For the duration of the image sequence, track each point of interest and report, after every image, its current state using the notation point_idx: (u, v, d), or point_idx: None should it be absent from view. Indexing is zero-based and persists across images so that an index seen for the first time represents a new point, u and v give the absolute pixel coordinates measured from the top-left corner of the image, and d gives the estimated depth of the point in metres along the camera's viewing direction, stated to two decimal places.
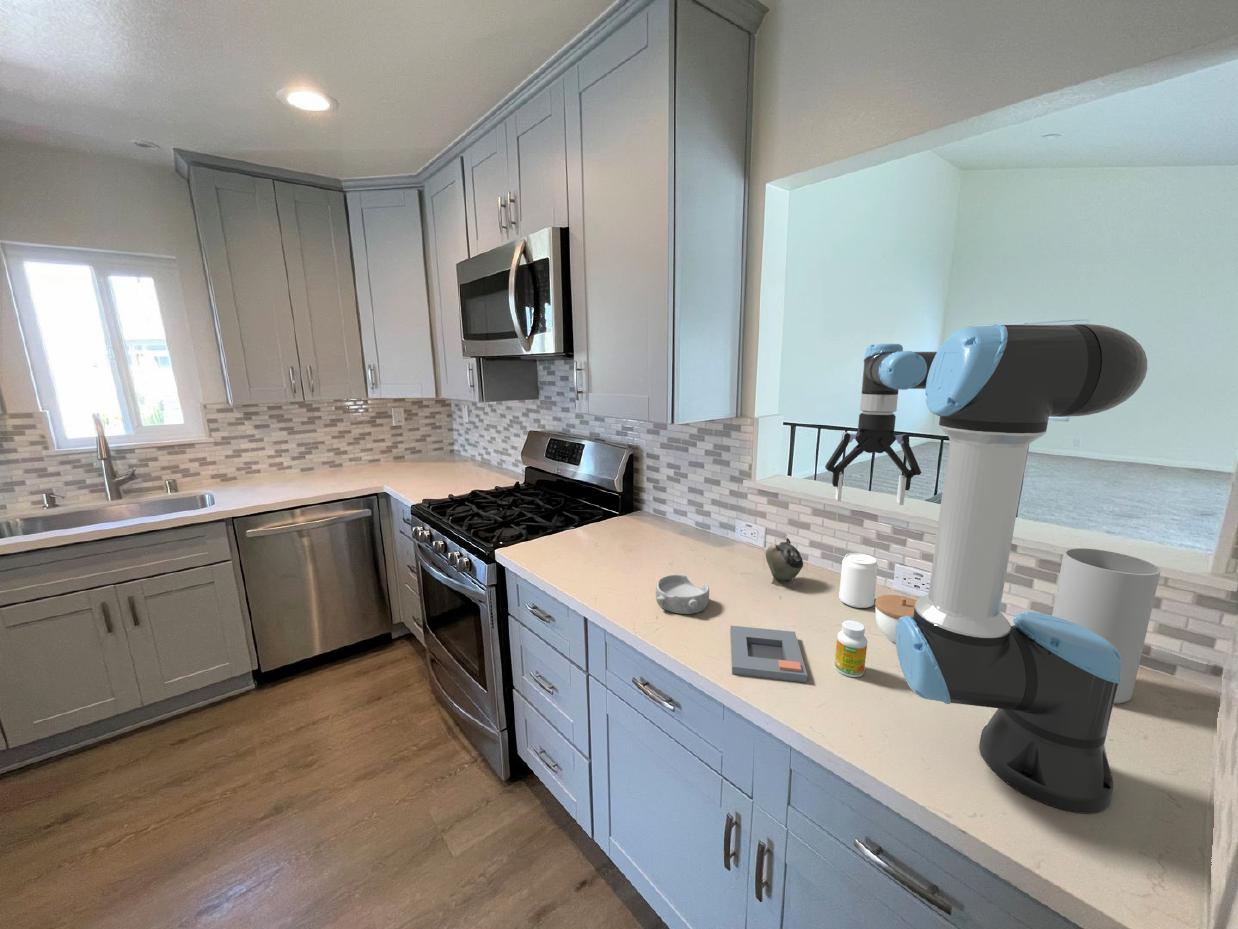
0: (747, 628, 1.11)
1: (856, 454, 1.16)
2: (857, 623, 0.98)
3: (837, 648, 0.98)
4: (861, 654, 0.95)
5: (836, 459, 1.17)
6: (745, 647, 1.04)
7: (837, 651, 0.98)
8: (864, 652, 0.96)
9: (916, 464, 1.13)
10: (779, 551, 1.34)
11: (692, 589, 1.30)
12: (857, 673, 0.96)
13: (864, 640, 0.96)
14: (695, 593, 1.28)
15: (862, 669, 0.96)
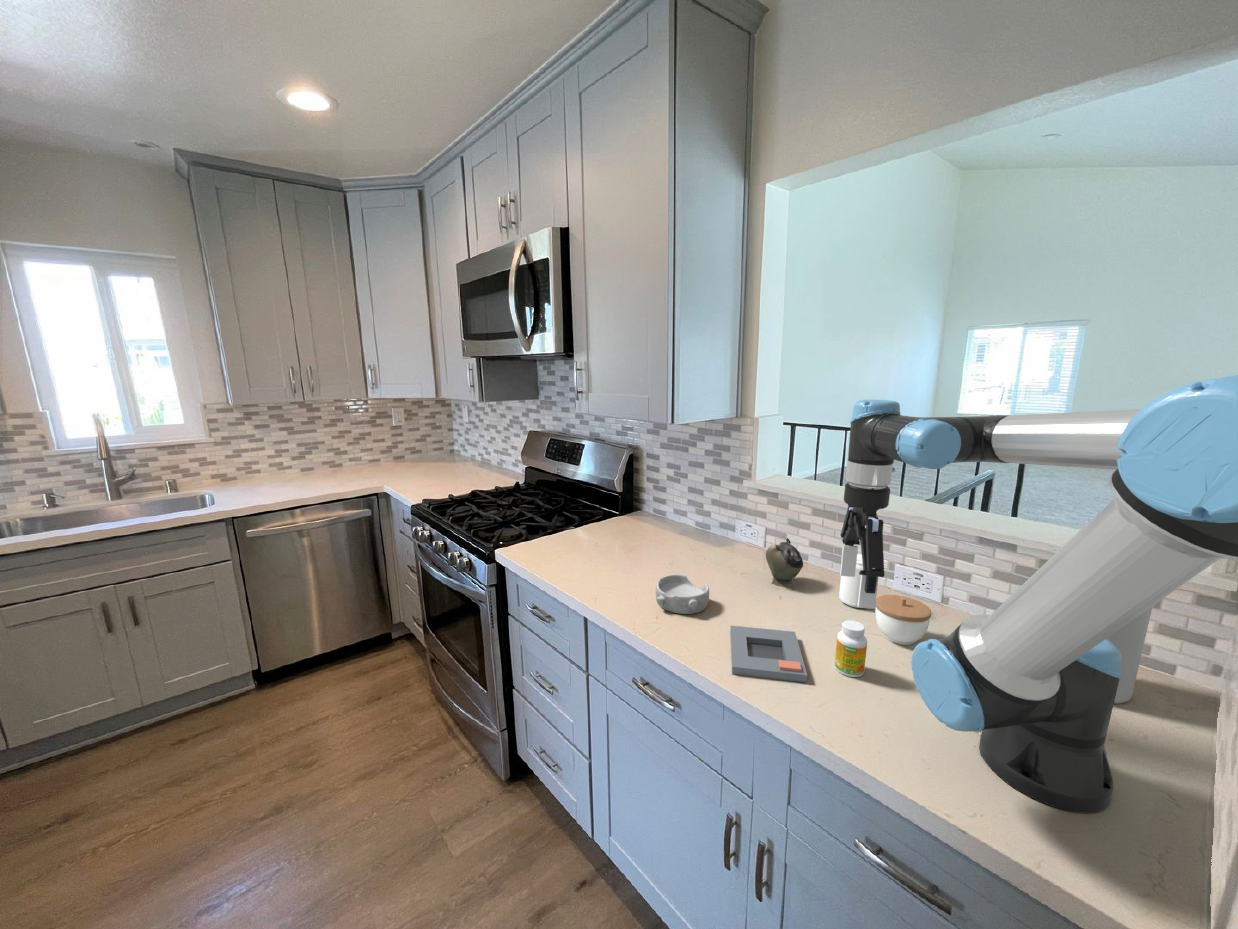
0: (747, 628, 1.11)
1: (850, 527, 0.97)
2: (857, 623, 0.98)
3: (837, 648, 0.98)
4: (861, 654, 0.95)
5: (844, 526, 1.02)
6: (745, 647, 1.04)
7: (837, 651, 0.98)
8: (864, 652, 0.96)
9: (868, 561, 0.85)
10: (779, 551, 1.34)
11: (692, 589, 1.30)
12: (857, 673, 0.96)
13: (864, 640, 0.96)
14: (695, 593, 1.28)
15: (862, 669, 0.96)
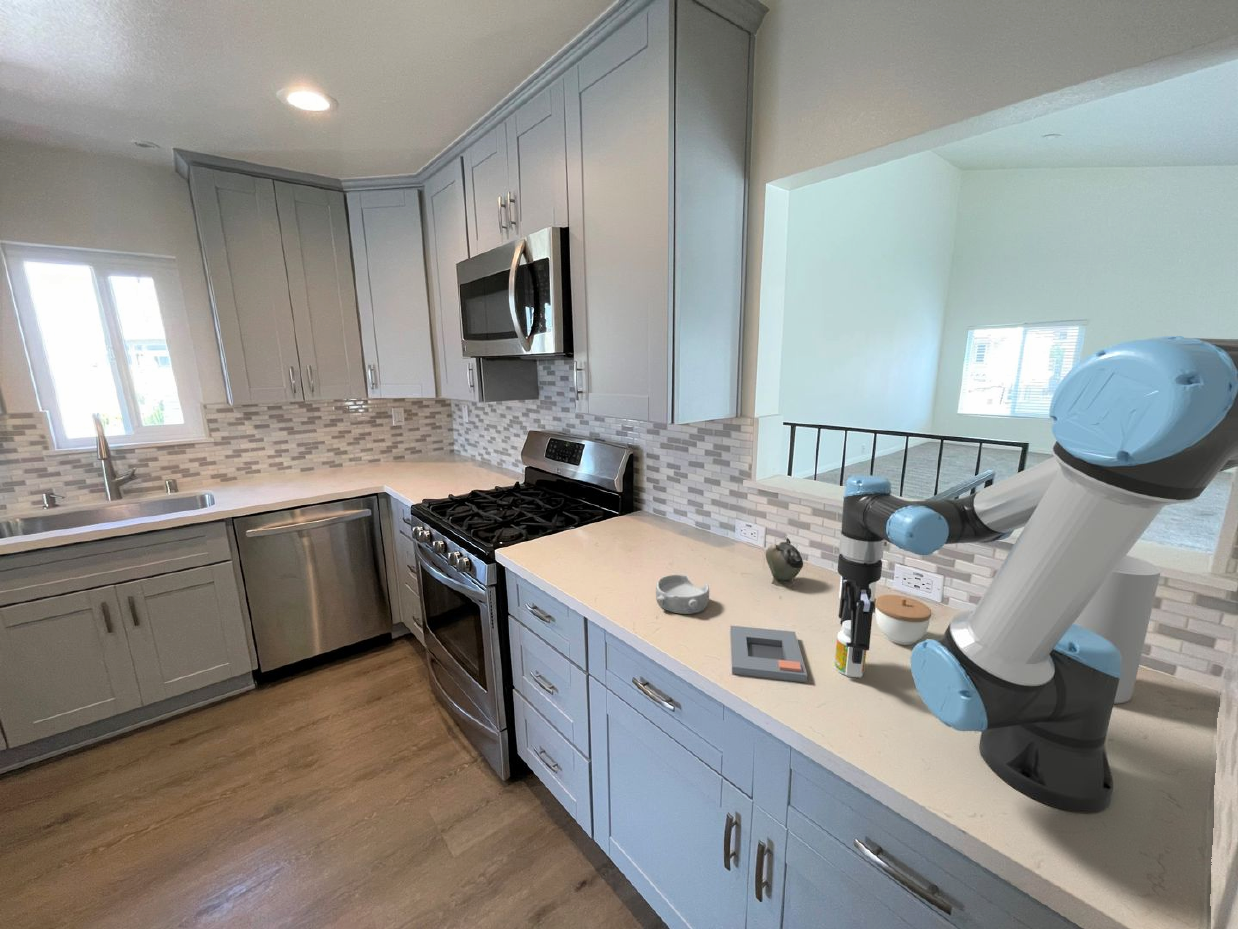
0: (747, 628, 1.11)
1: (845, 601, 0.99)
2: None
3: (837, 648, 0.98)
4: None
5: (840, 604, 1.02)
6: (745, 647, 1.04)
7: (837, 651, 0.98)
8: (864, 652, 0.96)
9: (855, 637, 0.91)
10: (779, 551, 1.34)
11: (692, 589, 1.30)
12: None
13: None
14: (695, 593, 1.28)
15: (862, 669, 0.96)
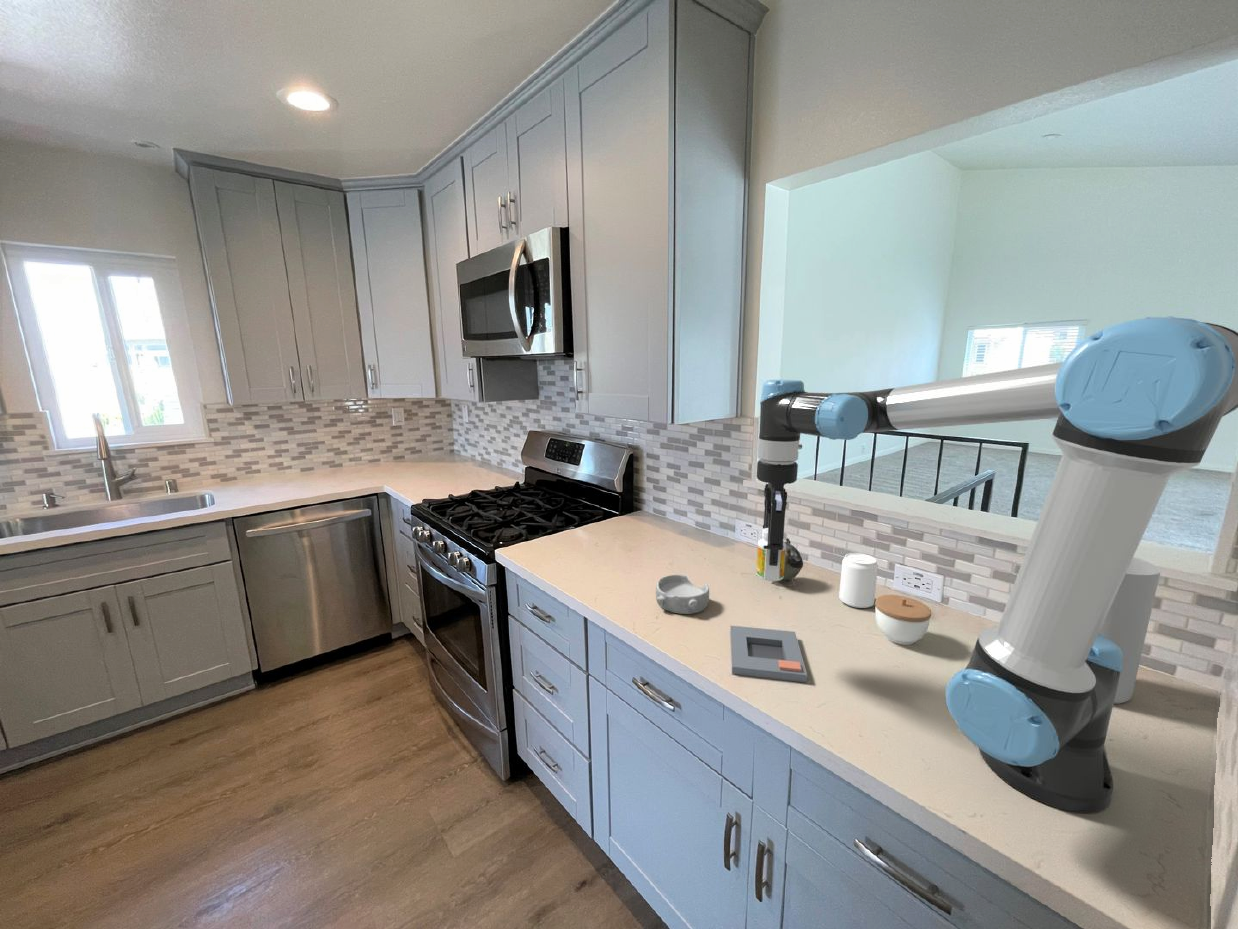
0: (747, 628, 1.11)
1: None
2: None
3: (757, 554, 1.00)
4: None
5: (764, 515, 1.04)
6: (745, 647, 1.04)
7: (757, 557, 1.00)
8: (782, 556, 0.97)
9: (769, 536, 0.93)
10: None
11: (692, 589, 1.30)
12: None
13: None
14: (695, 593, 1.28)
15: (781, 573, 0.98)
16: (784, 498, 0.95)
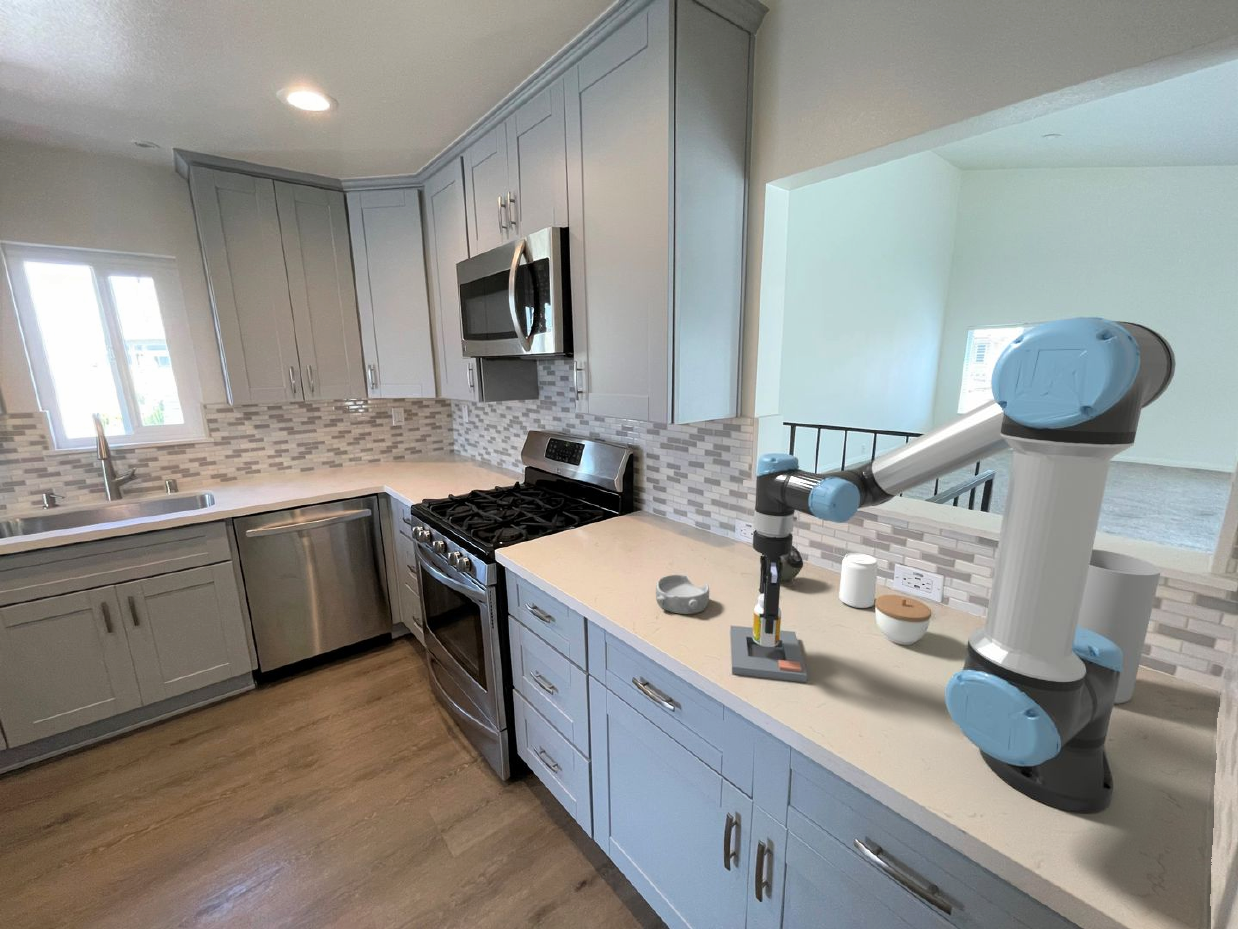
0: (747, 628, 1.11)
1: None
2: None
3: (754, 620, 1.02)
4: None
5: (760, 579, 1.06)
6: (745, 647, 1.04)
7: (753, 622, 1.02)
8: (777, 623, 1.00)
9: (765, 607, 0.95)
10: None
11: (692, 589, 1.30)
12: None
13: None
14: (695, 593, 1.28)
15: (776, 639, 1.01)
16: (779, 568, 0.97)
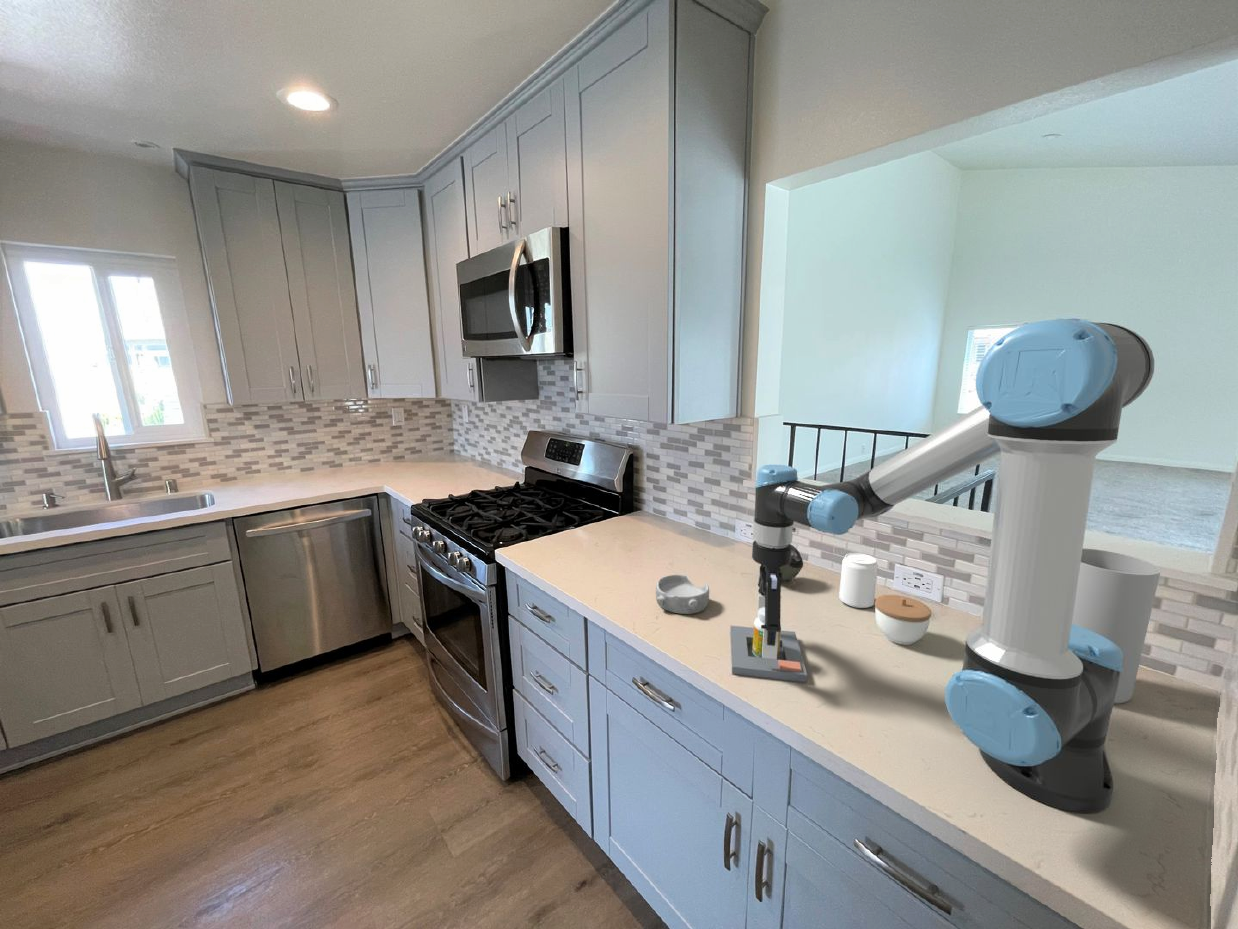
0: (747, 628, 1.11)
1: None
2: None
3: (753, 633, 1.03)
4: None
5: (759, 577, 1.09)
6: (745, 647, 1.04)
7: (753, 636, 1.03)
8: None
9: (766, 616, 0.93)
10: None
11: (692, 589, 1.30)
12: None
13: None
14: (695, 593, 1.28)
15: None
16: (779, 578, 0.98)
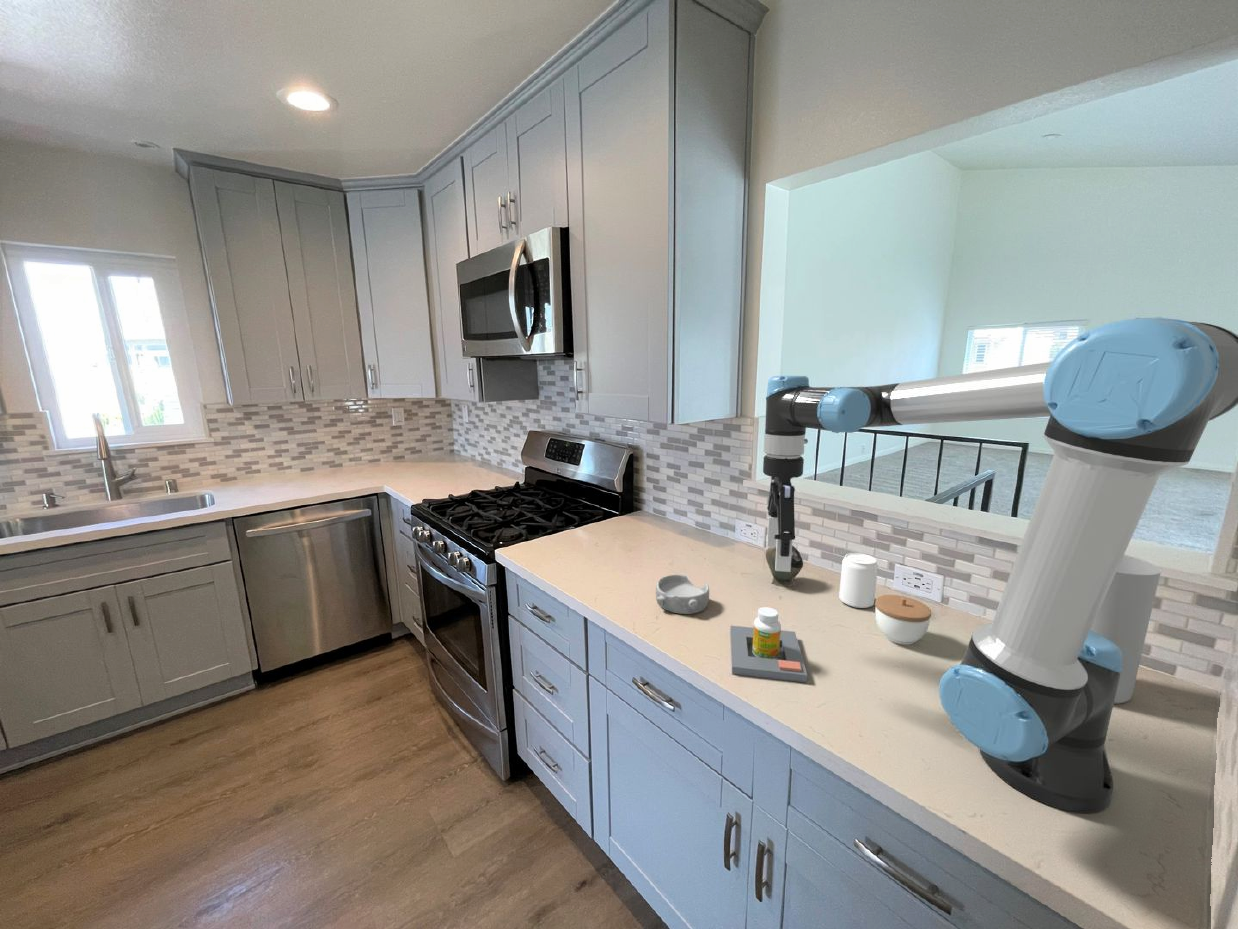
0: (747, 628, 1.11)
1: (772, 498, 1.03)
2: (772, 609, 1.02)
3: (753, 633, 1.03)
4: (774, 638, 1.00)
5: (769, 499, 1.07)
6: (745, 647, 1.04)
7: (753, 636, 1.03)
8: (777, 637, 1.00)
9: (780, 525, 0.91)
10: None
11: (692, 589, 1.30)
12: (771, 657, 1.01)
13: (777, 625, 1.01)
14: (695, 593, 1.28)
15: (776, 653, 1.01)
16: None
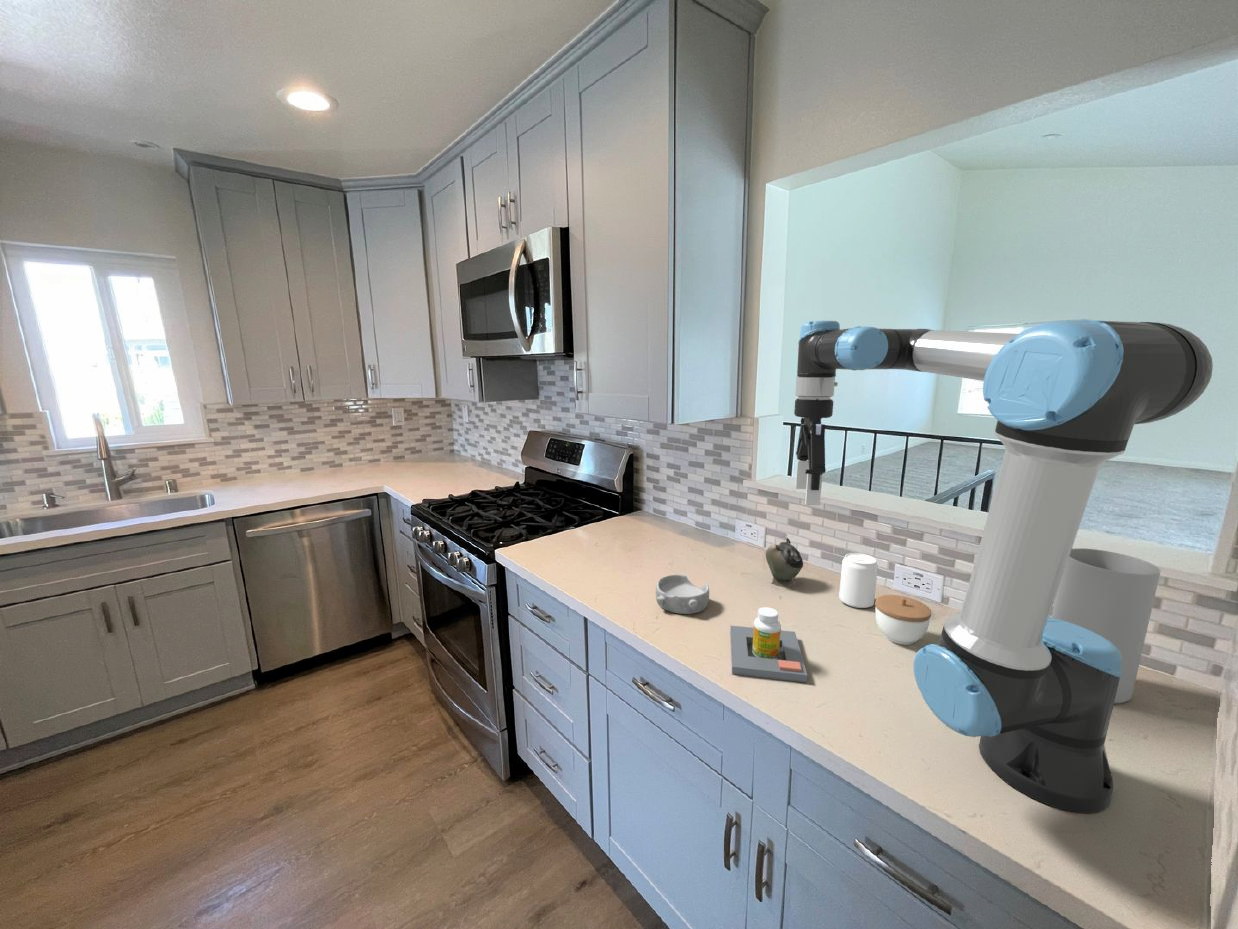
0: (747, 628, 1.11)
1: (801, 441, 1.09)
2: (772, 610, 1.02)
3: (753, 633, 1.03)
4: (774, 638, 1.00)
5: (798, 444, 1.14)
6: (745, 647, 1.04)
7: (753, 636, 1.03)
8: (777, 637, 1.00)
9: (811, 459, 0.97)
10: (779, 551, 1.34)
11: (692, 589, 1.30)
12: (771, 657, 1.01)
13: (777, 625, 1.01)
14: (695, 593, 1.28)
15: (776, 653, 1.01)
16: None
